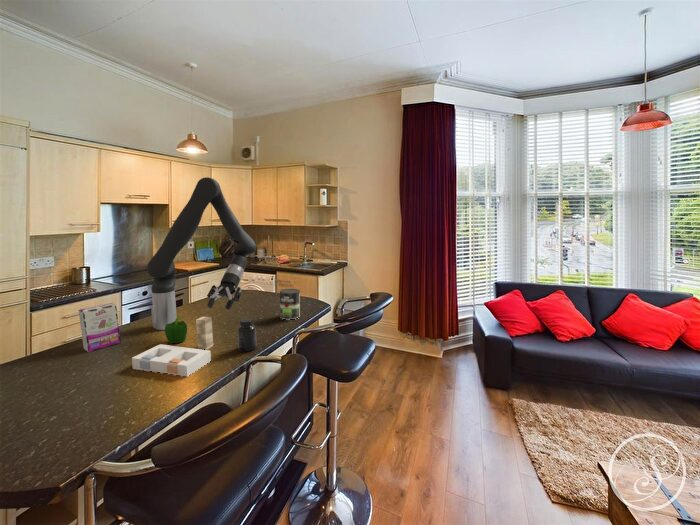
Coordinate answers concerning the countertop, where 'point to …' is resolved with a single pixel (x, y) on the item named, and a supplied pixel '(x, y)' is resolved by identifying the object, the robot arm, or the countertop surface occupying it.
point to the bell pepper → (176, 331)
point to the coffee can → (289, 304)
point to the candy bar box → (99, 327)
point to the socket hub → (171, 360)
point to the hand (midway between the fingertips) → (218, 308)
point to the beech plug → (204, 332)
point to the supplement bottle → (247, 335)
